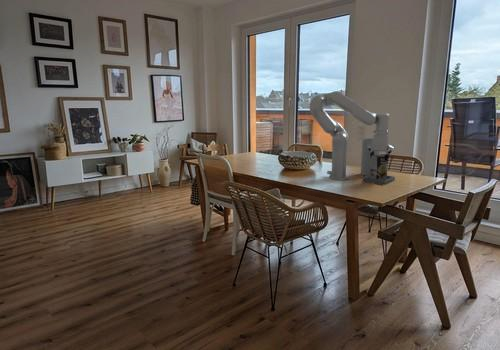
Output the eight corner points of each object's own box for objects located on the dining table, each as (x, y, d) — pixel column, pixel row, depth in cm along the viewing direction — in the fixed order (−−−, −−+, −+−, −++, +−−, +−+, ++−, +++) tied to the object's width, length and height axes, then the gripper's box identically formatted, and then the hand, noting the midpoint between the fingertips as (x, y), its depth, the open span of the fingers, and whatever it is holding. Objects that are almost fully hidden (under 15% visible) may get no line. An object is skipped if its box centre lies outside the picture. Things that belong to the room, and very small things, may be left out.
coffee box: (376, 181, 224) (378, 156, 220) (369, 179, 229) (370, 155, 226) (387, 179, 227) (388, 155, 224) (379, 177, 233) (381, 154, 229)
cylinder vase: (359, 175, 244) (360, 140, 239) (362, 172, 255) (364, 138, 250) (377, 177, 239) (380, 141, 233) (380, 173, 249) (382, 138, 244)
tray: (362, 181, 228) (362, 177, 227) (373, 177, 239) (373, 173, 238) (384, 184, 218) (384, 181, 217) (394, 180, 229) (394, 176, 228)
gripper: (366, 132, 225) (364, 158, 229) (392, 134, 213) (389, 161, 217) (371, 131, 230) (369, 156, 234) (397, 133, 218) (394, 160, 222)
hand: (379, 159), depth 225 cm, fingers open, 9 cm apart
